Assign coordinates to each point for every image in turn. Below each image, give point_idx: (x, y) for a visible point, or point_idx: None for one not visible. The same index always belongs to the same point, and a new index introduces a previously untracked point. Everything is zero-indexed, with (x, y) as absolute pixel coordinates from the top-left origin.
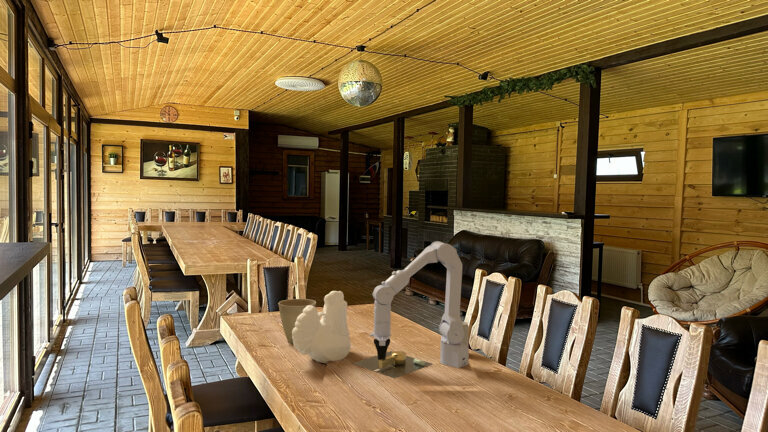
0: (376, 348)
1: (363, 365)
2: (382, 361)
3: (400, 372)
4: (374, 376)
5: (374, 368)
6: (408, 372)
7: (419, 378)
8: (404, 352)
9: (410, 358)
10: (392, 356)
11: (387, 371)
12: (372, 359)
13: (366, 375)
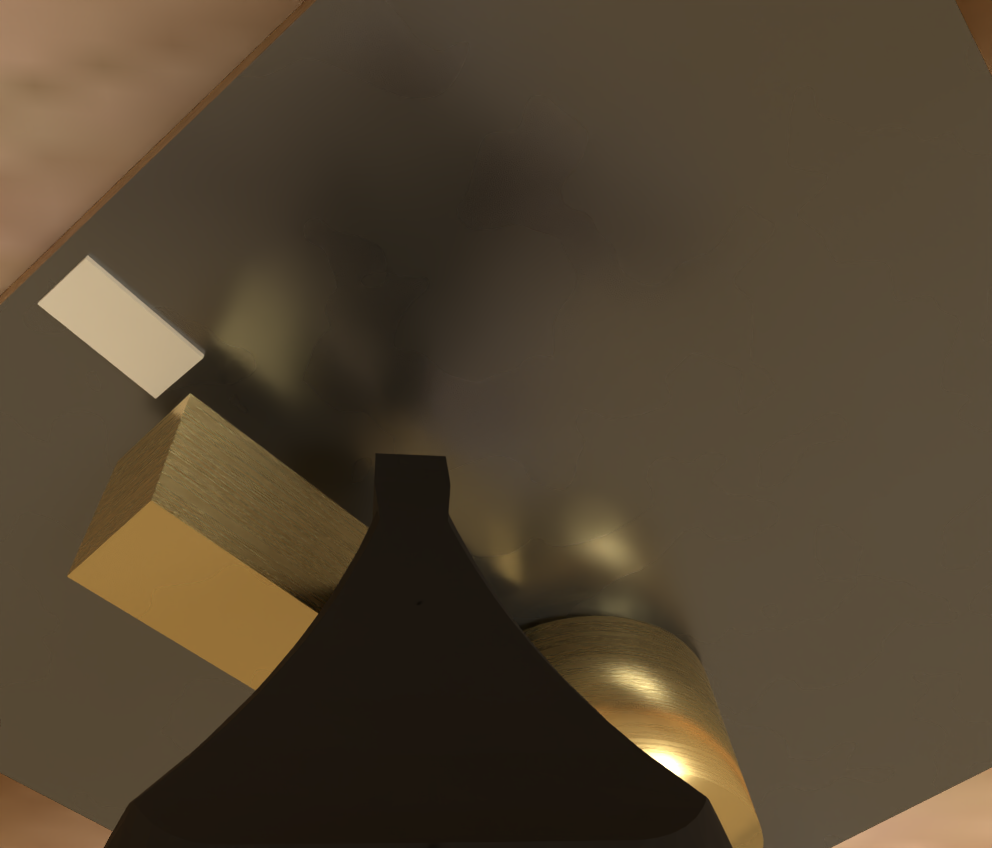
0: (273, 673)
1: (490, 5)
2: (83, 568)
3: (57, 708)
4: (34, 223)
5: (245, 280)
6: (84, 800)
7: (68, 840)
8: None
9: (767, 843)
10: None
11: (79, 521)
12: (903, 277)
13: (71, 36)
